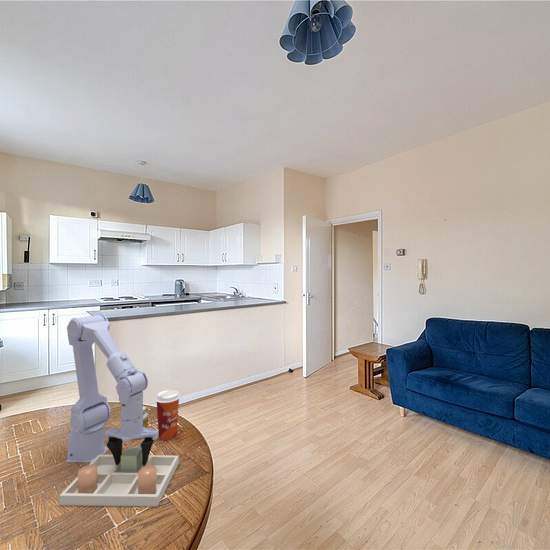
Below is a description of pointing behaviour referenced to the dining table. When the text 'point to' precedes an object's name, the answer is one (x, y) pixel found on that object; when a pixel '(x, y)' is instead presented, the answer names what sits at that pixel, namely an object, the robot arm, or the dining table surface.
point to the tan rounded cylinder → (88, 479)
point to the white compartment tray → (121, 484)
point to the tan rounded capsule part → (147, 480)
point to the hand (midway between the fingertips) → (131, 463)
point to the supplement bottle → (145, 418)
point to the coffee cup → (167, 413)
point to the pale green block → (131, 460)
